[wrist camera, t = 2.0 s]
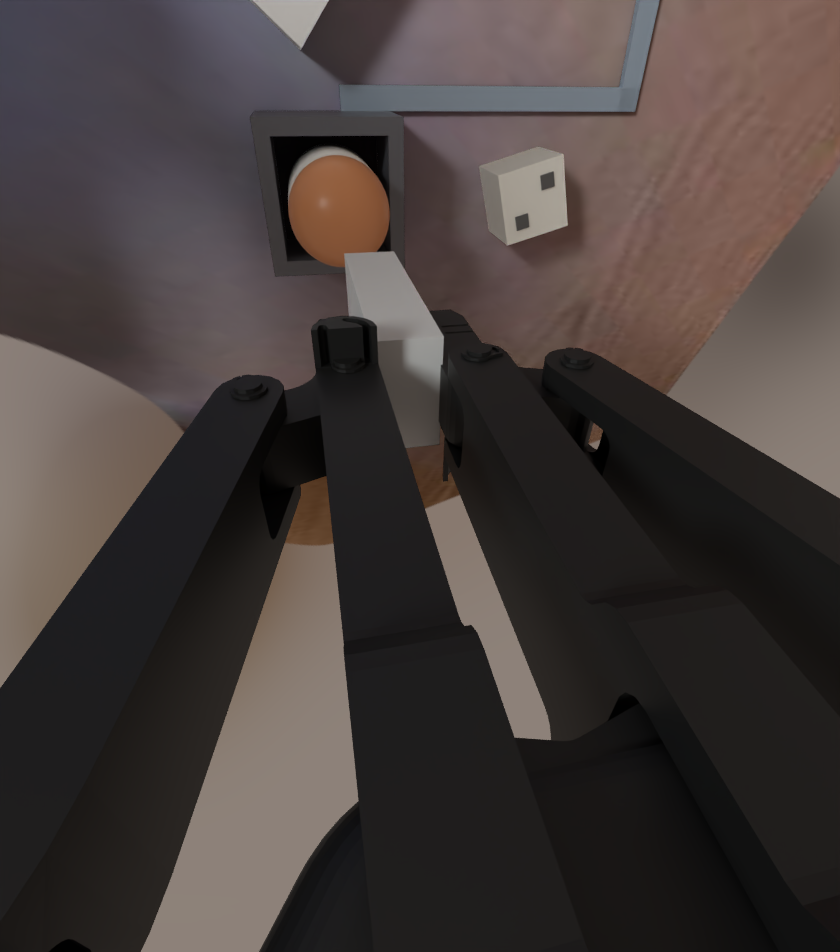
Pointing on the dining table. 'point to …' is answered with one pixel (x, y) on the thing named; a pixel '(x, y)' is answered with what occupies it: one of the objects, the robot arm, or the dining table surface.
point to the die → (525, 194)
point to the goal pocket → (518, 87)
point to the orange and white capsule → (336, 204)
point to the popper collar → (328, 123)
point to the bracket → (292, 16)
